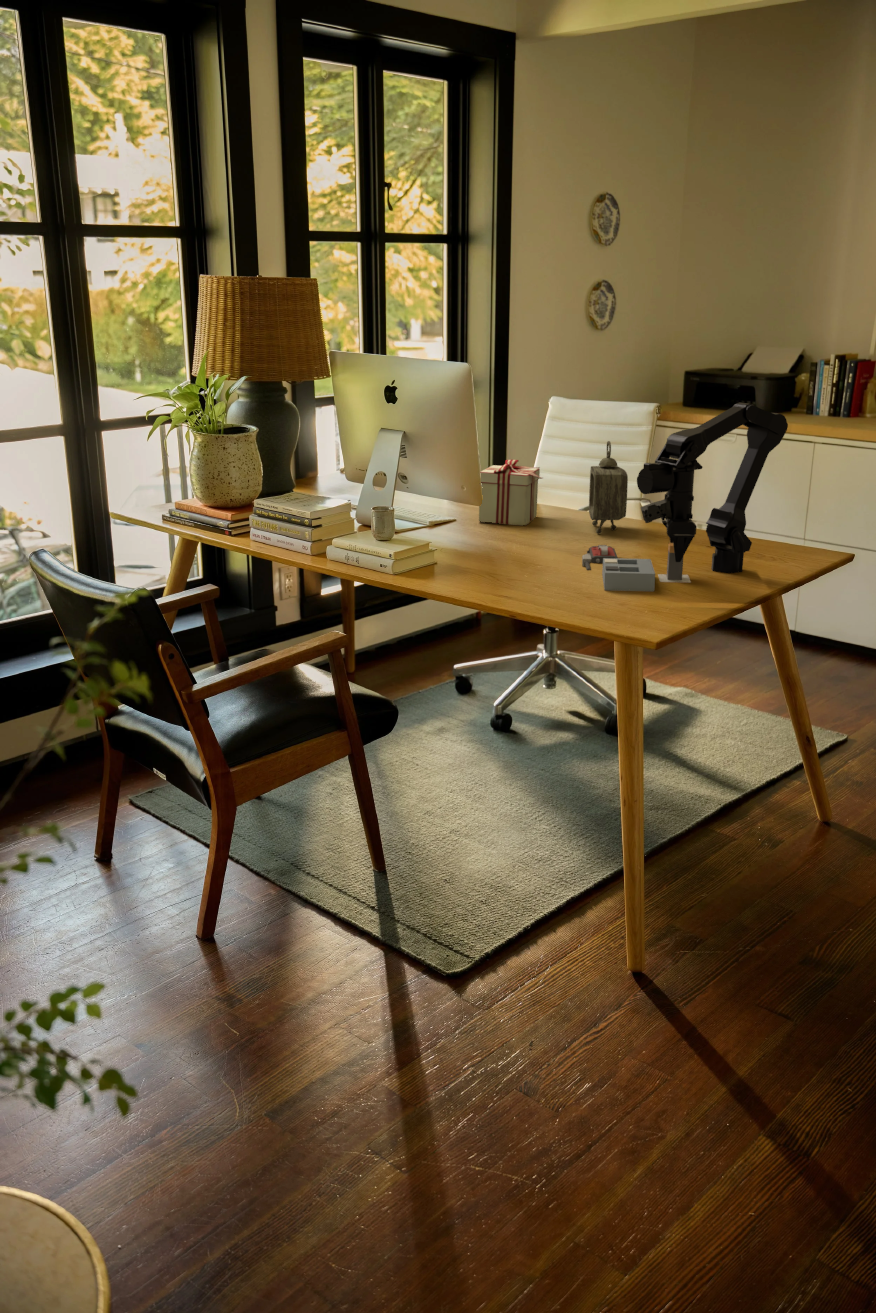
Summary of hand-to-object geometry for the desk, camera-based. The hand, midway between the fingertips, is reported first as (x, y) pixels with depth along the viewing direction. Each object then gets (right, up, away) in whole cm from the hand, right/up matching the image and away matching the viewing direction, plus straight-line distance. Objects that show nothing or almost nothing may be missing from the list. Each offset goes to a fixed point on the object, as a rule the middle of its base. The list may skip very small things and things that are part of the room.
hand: (675, 557), depth 250 cm
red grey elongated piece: (-15, -1, +19) cm, 24 cm away
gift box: (-33, +18, +72) cm, 81 cm away
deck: (0, -6, +2) cm, 6 cm away
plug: (0, -5, +2) cm, 5 cm away
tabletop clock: (-7, +13, +57) cm, 59 cm away
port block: (-12, -7, -2) cm, 14 cm away
